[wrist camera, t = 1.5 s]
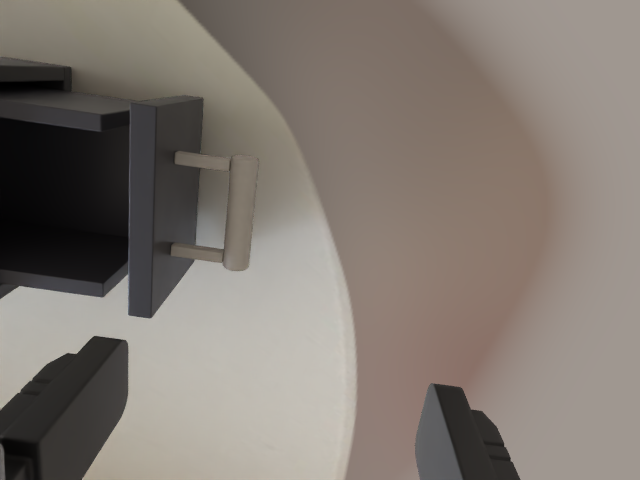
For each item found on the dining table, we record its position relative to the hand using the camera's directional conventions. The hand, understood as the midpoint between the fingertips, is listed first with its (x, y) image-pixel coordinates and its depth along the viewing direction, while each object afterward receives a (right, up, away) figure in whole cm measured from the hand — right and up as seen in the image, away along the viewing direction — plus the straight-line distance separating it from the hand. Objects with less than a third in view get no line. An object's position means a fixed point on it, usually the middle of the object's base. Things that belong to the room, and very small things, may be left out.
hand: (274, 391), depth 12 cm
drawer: (-10, +8, +18) cm, 22 cm away
